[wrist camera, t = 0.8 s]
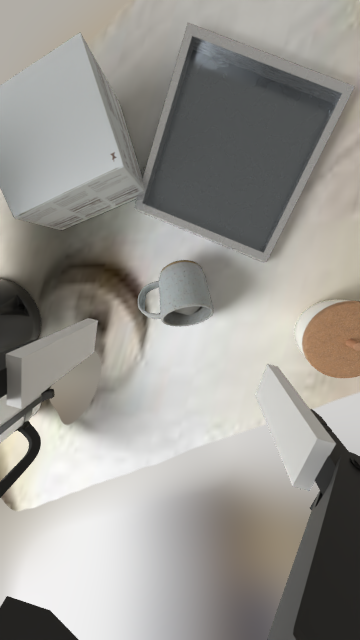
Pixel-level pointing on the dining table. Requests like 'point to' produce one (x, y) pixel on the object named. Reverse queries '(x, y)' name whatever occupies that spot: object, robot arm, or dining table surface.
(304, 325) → the lidded jar
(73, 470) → the dining table surface
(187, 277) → the ceramic mug
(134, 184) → the supplement box
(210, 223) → the square tray
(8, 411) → the coffee press
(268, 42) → the dining table surface
